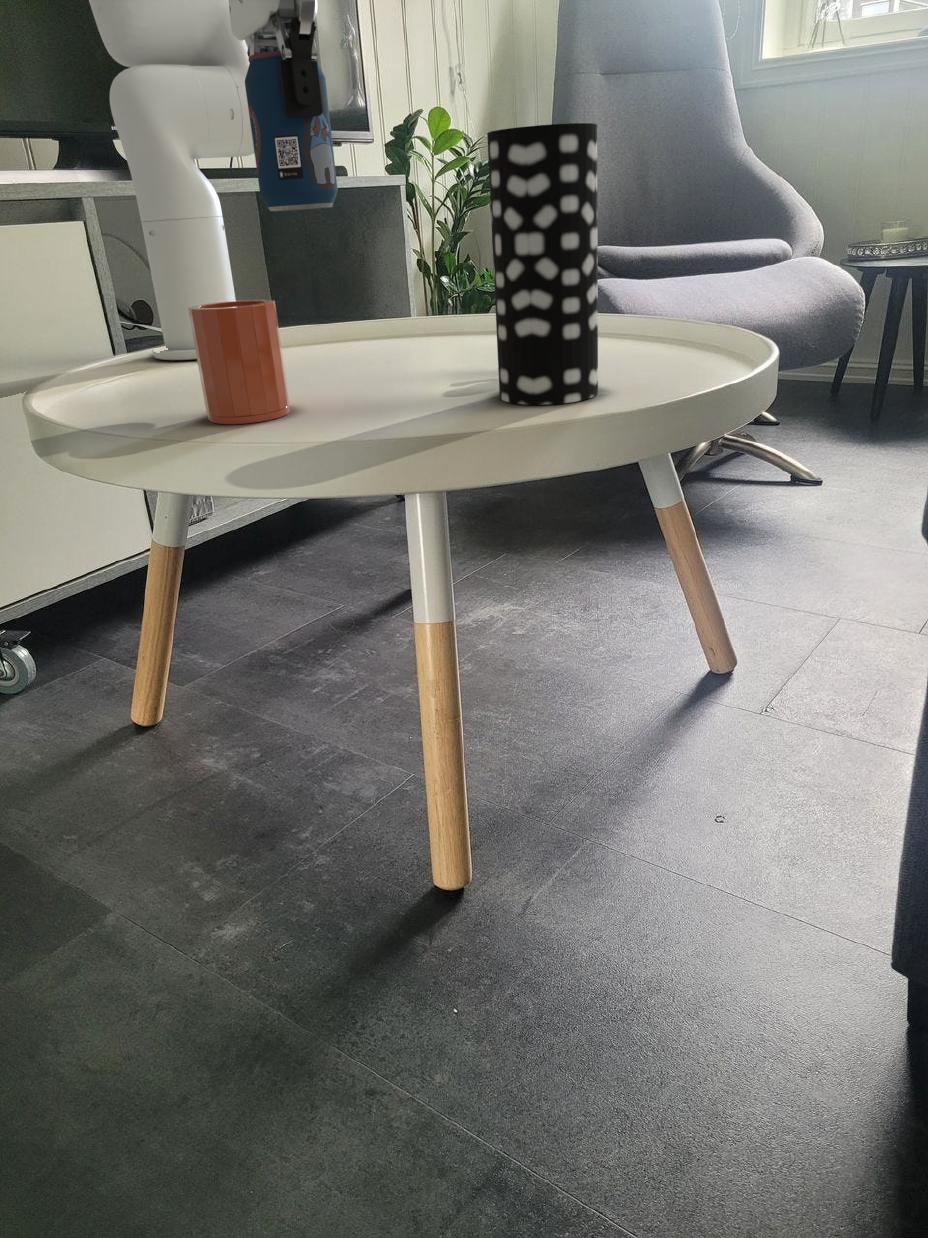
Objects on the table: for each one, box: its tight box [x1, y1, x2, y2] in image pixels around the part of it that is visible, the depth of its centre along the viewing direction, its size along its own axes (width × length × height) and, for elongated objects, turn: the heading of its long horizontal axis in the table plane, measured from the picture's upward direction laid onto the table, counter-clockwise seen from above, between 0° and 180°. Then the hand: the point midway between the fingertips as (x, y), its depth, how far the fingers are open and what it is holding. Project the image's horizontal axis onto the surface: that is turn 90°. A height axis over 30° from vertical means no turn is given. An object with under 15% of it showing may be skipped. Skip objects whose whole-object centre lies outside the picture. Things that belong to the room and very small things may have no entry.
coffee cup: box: [188, 299, 290, 425], centre depth 76 cm, size 7×7×9 cm
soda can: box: [245, 50, 339, 212], centre depth 81 cm, size 7×7×12 cm
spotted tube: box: [486, 122, 599, 406], centre depth 74 cm, size 8×8×20 cm
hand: (289, 119), depth 80 cm, fingers closed on soda can, 7 cm apart
